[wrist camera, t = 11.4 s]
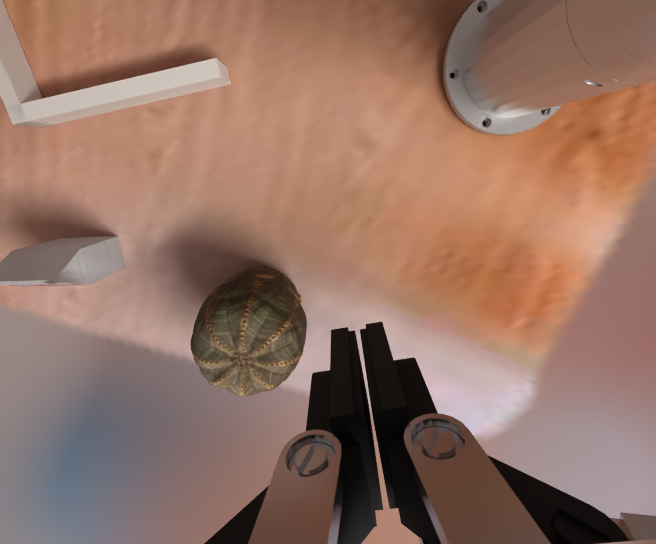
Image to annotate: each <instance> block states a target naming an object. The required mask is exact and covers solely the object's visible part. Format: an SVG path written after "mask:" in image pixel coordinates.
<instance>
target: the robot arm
mask: <svg viewBox="0 0 656 544" xmlns="http://www.w3.org/2000/svg"><path fill="white" fill-rule="evenodd" d="M477 8H479V9H480V12H479V11H478V10H477ZM450 73H452V74H453V75H454V78H453V79H452V78H450ZM653 81H656V0H475V1H474V2H473V3H472V4H471V5H470V6H469V8H468V9H467V10H466V11H465V12H464V14H463V15H462V17H461V18H460V19H459V21H458V22H457V24H456V25H455V27H454V29H453V31H452V33H451V36H450V38H449V40H448V44H447V47H446V50H445V54H444V61H443V83H444V88H445V93H446V96H447V98H448V101H449V103H450V106H451V107H452V109H453V110H454V112H455V113H456V115H457V116H458V117H459V118H460V119H461V120H462V121H463V122H464V123H465V124H466V125H468V126H469V127H471V128H473V129H474V130H476V131H479V132H482V133H485V134H488V135H498V136H501V135H511V134H516V133H521V132H524V131H526V130H529V129H531V128H534V127H536V126H537V125H539V124H541V123H542V122H544V121H546V120H547V119H548V118H549V117H551V116H552V115H553V114H554V113H555V112H556V111H557V110H558V109H559V108H560V107H561V106H562V105H563V104H567V103H571V102H575V101H579V100H582V99H586V98H590V97H594V96H598V95H602V94H606V93H610V92H614V91H617V90H621V89H625V88H629V87H633V86H637V85H641V84H645V83H649V82H653ZM541 110H542V111H543V112H542V114H541ZM483 121H485V126H483V125H482V122H483ZM360 334H361V340H362V347H363V354H364V361H365V368H366V375H367V381H368V388H369V395H370V402H371V408H372V414H373V420H374V426H375V431H376V436H377V442H378V447H379V452H380V458H381V463H382V469H383V474H384V480H385V485H386V491H387V496H388V501H389V506H390V509H392V508H399V513H400V519H401V523H402V524H403V525H404V526H405V527H407V528H408V529H409V530H411V531H412V532H413V533H415V534H416V535H417V536H418V537H419V540H420V544H656V516H648V515H639V514H629V513H620V519H615V518H609V517H608V516H606V515H605V514H604V513H602V512H601V511H599V510H597V509H596V508H594V507H592V506H591V505H589V504H587V503H585V502H583V501H581V500H579V499H577V498H575V497H572V496H571V495H568V494H566V493H564V492H562V491H560V490H558V489H556V488H554V487H552V486H550V485H548V484H546V483H544V482H542V481H540V480H537V479H536V478H533V477H531V476H529V475H527V474H525V473H523V472H521V471H519V470H517V469H515V468H513V467H511V466H509V465H507V464H505V463H503V462H500V461H498V460H496V459H494V458H492V457H490V456H488V455H487V454H486V453H485V451H484V450H483V449H482V447H481V446H480V445H479V443H478V442H477V440H476V439H475V438H474V436H473V435H472V433H471V432H470V431H469V429H468V428H467V427H466V426H465V425H464V424H463V423H462V422H460V421H459V420H457V419H455V418H454V417H451V416H448V415H444V414H438V413H437V410H436V408H435V406H434V403H433V401H432V398H431V396H430V393H429V391H428V388H427V386H426V383H425V381H424V379H423V376H422V374H421V371H420V369H419V366H418V364H417V361H416V359H415V358H408V359H401V360H394V361H393V357H392V354H391V351H390V347H389V344H388V340H387V337H386V334H385V330H384V327H383V323H382V322H377V323H371V324H366V329H361V330H360ZM375 510H383V506H382V498H381V492H380V484H379V476H378V469H377V462H376V455H375V447H374V440H373V433H372V425H371V418H370V411H369V404H368V398H367V393H366V388H365V382H364V377H363V371H362V366H361V361H360V355H359V350H358V345H357V339H356V334H355V331H349V330H348V327H346V328H340V329H334V330H331V362H330V370H329V371H322V372H316V373H313V374H312V381H311V390H310V399H309V408H308V417H307V426H306V432H303V433H300V434H298V435H297V436H295V437H294V438H292V439H291V440H290V441H289V442H288V443H287V444H286V445H285V447H284V448H283V450H282V452H281V454H280V456H279V459H278V462H277V464H276V467H275V470H274V473H273V476H272V478H271V481H270V484H269V486H268V487H267V488H266V489H265V490H263V491H262V492H261V493H260V494H259V495H258V496H257V497H256V498H255V499H254V500H252V501H251V502H250V503H249V504H248V505H247V506H246V507H245V508H243V509H242V510H241V511H240V512H239V513H238V514H237V515H236V516H235V517H233V518H232V519H231V520H230V521H229V522H228V523H227V524H226V525H225V526H224V527H222V528H221V529H220V530H219V531H218V532H217V533H216V534H215V535H214V536H212V537H211V538H210V539H209V540H208V541H207V542H206V543H205V544H363V541H364V539H365V538H366V537H367V535H368V534H369V533H370V532H371V530H372V529H373V528H374V527H375V526H377V525H376V515H375Z"/></svg>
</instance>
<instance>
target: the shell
mask: <svg viewBox="0 0 656 544" xmlns="http://www.w3.org/2000/svg"><path fill="white" fill-rule="evenodd" d="M301 301H302V297H301V296H300V295H298V292H297V290H296V287H295V286H294V284H293V283H292V282H291V281H290V280H289V279H288V278H287V277H286V276H284V275H283V274H281V273H280V272H278V271H275V270H272V269H269V268H267V267H264V268H259V267H251V268H250V269H249V270H246V271H244V272H241V273H239V274H237V275H235V276H233V277H232V278H231V279H229V280H228V281H227V282H226V283H224V284H222V285H220V286H218V287H217V288H216V289H215V290H214V291H213V292H212V294H210V295H209V296H208V298H207V299H206V300H205V301H204V303H203V304H202V306H201V308H200V310H199V313H198V316H197V319H196V321H195V325H194V329H193V334H192V338H191V351H192V354H193V356H194V360H195V362H196V364H197V365H198V366H199V368H200V371H201V373H202V374H203V376H204V377H205V378H206V379H207V380H208V382H209V383H210V384H211V385H213V386H215V387H217V388H221V389H226V390H228V391H229V392H231V393H233V394H236V395H238V396H241V397H243V396H249V395H250V396H251V395H254V394H257V393H259V392H263V391H270V390H273V389H275V388H277V387H278V386H279V385H280V384H281V383H282V382H283V381H285V380H286V379H287V378H288V377H289V375H290V374H291V372H292V371H293V370H294V369H295V368H296V366H297V364H298V362H299V359H300V357H301V356H302V353H303V348H304V343H305V338H306V327H307V320H306V315H305V312H304V310H303V308H302V306H301V304H300V303H301Z"/></svg>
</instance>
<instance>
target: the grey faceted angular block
mask: <svg viewBox="0 0 656 544" xmlns="http://www.w3.org/2000/svg"><path fill="white" fill-rule="evenodd" d="M123 268H125V263H124V259H123V255H122V250H121V246H120V242H119V238H118V236H103V237H68V238H57V239H54V240H50V241H46V242H43V243H39V244H35V245H32V246H28V247H24V248H21V249H17V250H14V251H11V252H10V253H9V254H8V255H7V256H6V257H5V258H4V259H3V260H2V261H1V262H0V285H13V286H63V285H91V284H93V283H95V282H97V281H99V280H101V279H103V278H105V277H107V276H109V275H111V274H113V273H115V272H117V271H119V270H121V269H123Z"/></svg>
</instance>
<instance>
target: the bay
mask: <svg viewBox="0 0 656 544" xmlns="http://www.w3.org/2000/svg"><path fill="white" fill-rule="evenodd" d="M230 84H231V83H230V79H229V75H228V71H227V67H226V66H225V65H224V64H222V63H221V62H220V61H219V60H218V59H217V58H214V59H209V60H205V61H201V62H197V63H192V64H188V65H184V66H179V67H175V68H171V69H167V70H162V71H158V72H154V73H150V74H145V75H141V76H137V77H133V78H128V79H124V80H120V81H115V82H111V83H107V84H103V85H98V86H94V87H90V88H86V89H81V90H77V91H73V92H68V93H64V94H60V95H56V96H51V97H47V98H42V96H41V93H40V91H39V88H38V86H37V84H36V81H35V79H34V76H33V74H32V71H31V69H30V67H29V64H28V62H27V59H26V57H25V54H24V52H23V49H22V47H21V45H20V42H19V40H18V37H17V35H16V32H15V30H14V28H13V25H12V23H11V20H10V18H9V15H8V13H7V11H6V8H5V6H4V3H3V1H2V0H0V96H1V98H2V101H3V103H4V105H5V107H6V110H7V112H8V114H9V116H10V119H11V121H12V123H13V125H22V126H30V127H38V128H41V127H45V126H50V125H54V124H59V123H63V122H67V121H72V120H76V119H81V118H85V117H89V116H94V115H98V114H103V113H107V112H111V111H116V110H120V109H125V108H129V107H133V106H138V105H142V104H147V103H151V102H155V101H160V100H164V99H169V98H173V97H178V96H182V95H186V94H191V93H195V92H200V91H204V90H208V89H213V88H217V87H222V86H226V85H230Z"/></svg>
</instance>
